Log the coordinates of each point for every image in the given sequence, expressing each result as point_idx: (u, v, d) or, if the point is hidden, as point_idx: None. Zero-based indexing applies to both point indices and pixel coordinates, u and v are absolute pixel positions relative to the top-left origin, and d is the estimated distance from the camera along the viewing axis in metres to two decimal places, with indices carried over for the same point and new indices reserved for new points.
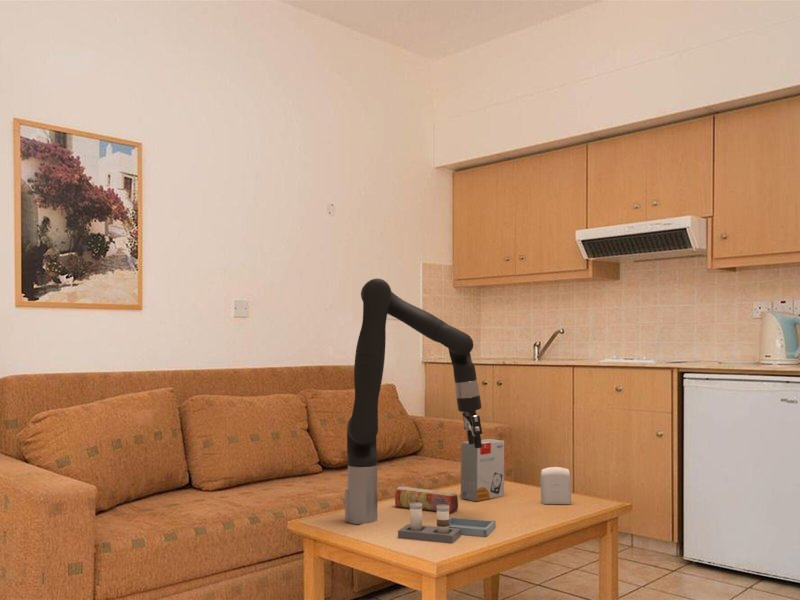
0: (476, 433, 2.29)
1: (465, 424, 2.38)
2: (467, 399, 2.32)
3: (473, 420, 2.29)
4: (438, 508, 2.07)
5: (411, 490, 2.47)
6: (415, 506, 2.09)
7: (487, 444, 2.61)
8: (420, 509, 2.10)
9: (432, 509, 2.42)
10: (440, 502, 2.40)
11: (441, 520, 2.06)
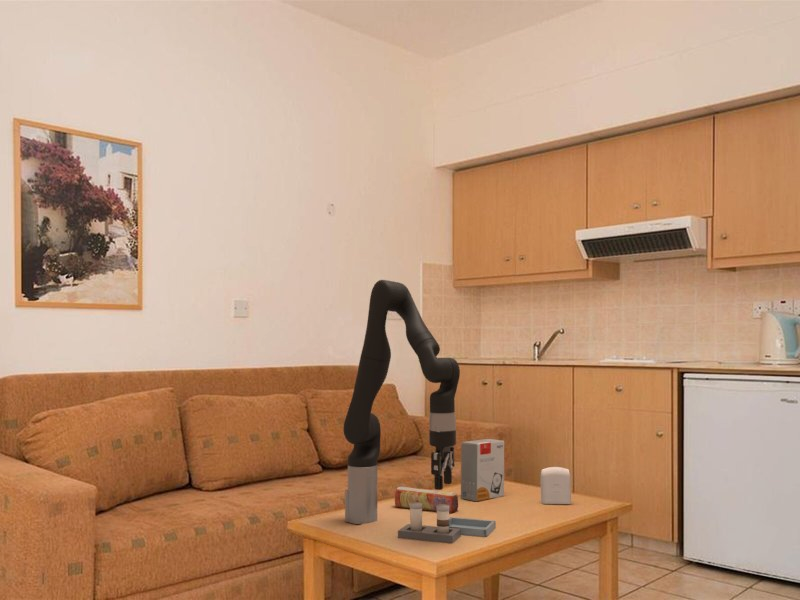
0: (433, 472, 2.02)
1: None
2: (434, 433, 2.06)
3: (432, 457, 2.03)
4: (438, 508, 2.07)
5: (411, 490, 2.47)
6: (415, 506, 2.09)
7: (487, 444, 2.61)
8: (420, 509, 2.10)
9: (432, 509, 2.42)
10: (441, 502, 2.41)
11: (441, 520, 2.06)
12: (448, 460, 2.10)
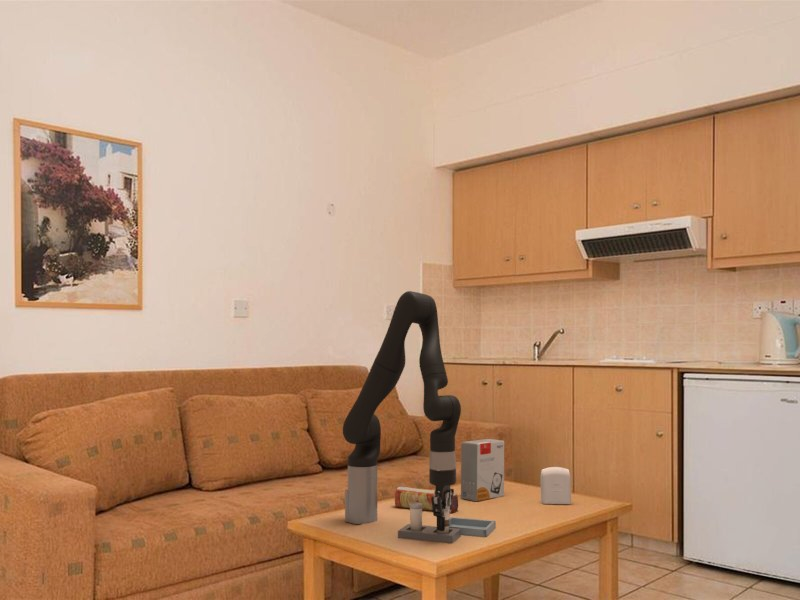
0: (435, 515, 2.04)
1: None
2: (434, 471, 2.06)
3: (432, 502, 2.03)
4: None
5: (411, 490, 2.47)
6: (415, 506, 2.09)
7: (487, 444, 2.61)
8: (420, 509, 2.10)
9: (432, 509, 2.42)
10: None
11: None
12: (448, 498, 2.09)
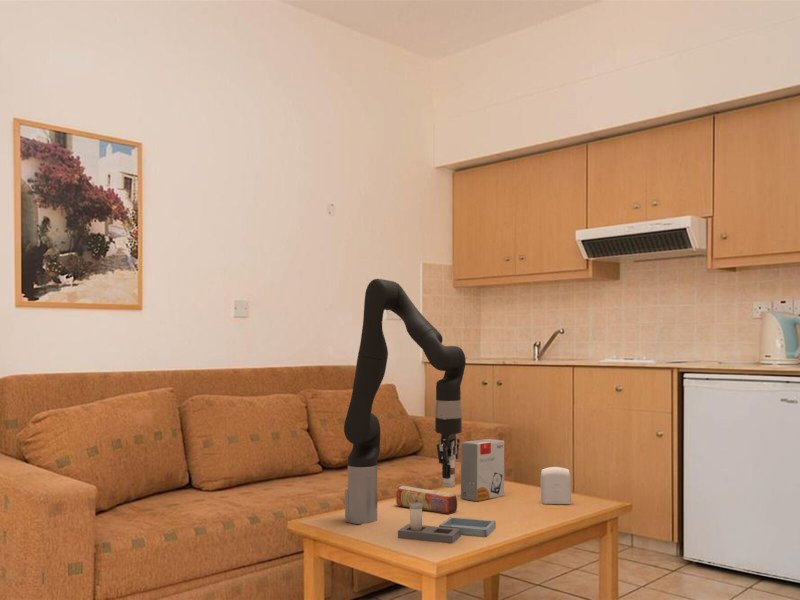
0: (441, 462, 2.07)
1: None
2: (440, 420, 2.08)
3: (438, 449, 2.05)
4: None
5: (411, 490, 2.47)
6: (415, 506, 2.09)
7: (487, 444, 2.61)
8: (420, 509, 2.10)
9: (431, 509, 2.42)
10: (438, 502, 2.40)
11: None
12: None
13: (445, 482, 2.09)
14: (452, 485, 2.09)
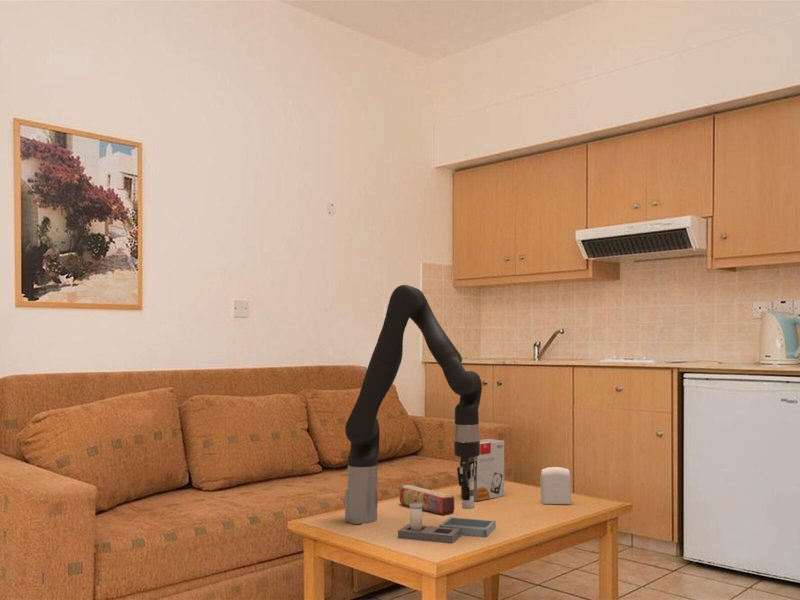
0: (461, 485, 2.13)
1: None
2: (460, 443, 2.15)
3: (458, 472, 2.12)
4: None
5: (413, 489, 2.49)
6: (415, 506, 2.09)
7: (487, 444, 2.61)
8: (420, 509, 2.10)
9: (428, 509, 2.42)
10: (434, 503, 2.39)
11: None
12: None
13: (465, 504, 2.15)
14: (471, 506, 2.15)
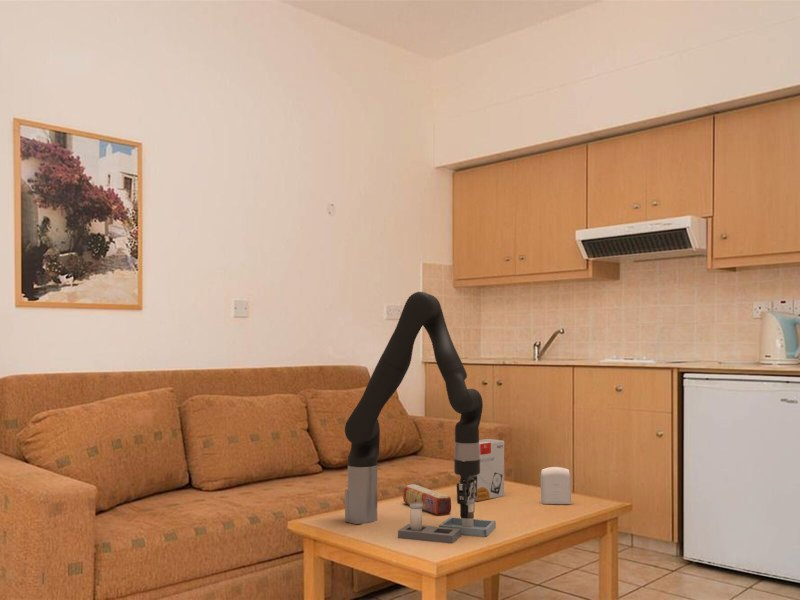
0: (459, 502, 2.11)
1: None
2: (460, 462, 2.15)
3: (457, 488, 2.11)
4: None
5: (414, 488, 2.49)
6: (415, 506, 2.09)
7: (487, 444, 2.61)
8: (420, 509, 2.10)
9: (426, 509, 2.42)
10: (430, 503, 2.39)
11: None
12: (472, 488, 2.18)
13: (464, 526, 2.15)
14: None
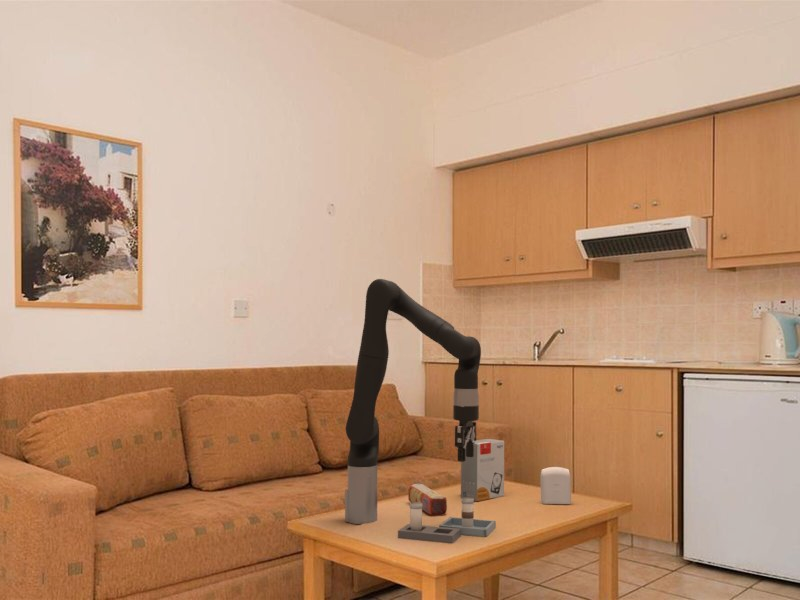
0: (456, 445, 2.12)
1: None
2: (458, 407, 2.16)
3: (456, 430, 2.13)
4: (463, 501, 2.16)
5: (417, 488, 2.50)
6: (415, 506, 2.09)
7: (487, 444, 2.61)
8: (420, 509, 2.10)
9: (423, 509, 2.42)
10: (425, 503, 2.39)
11: (466, 512, 2.15)
12: None
13: (464, 526, 2.15)
14: None
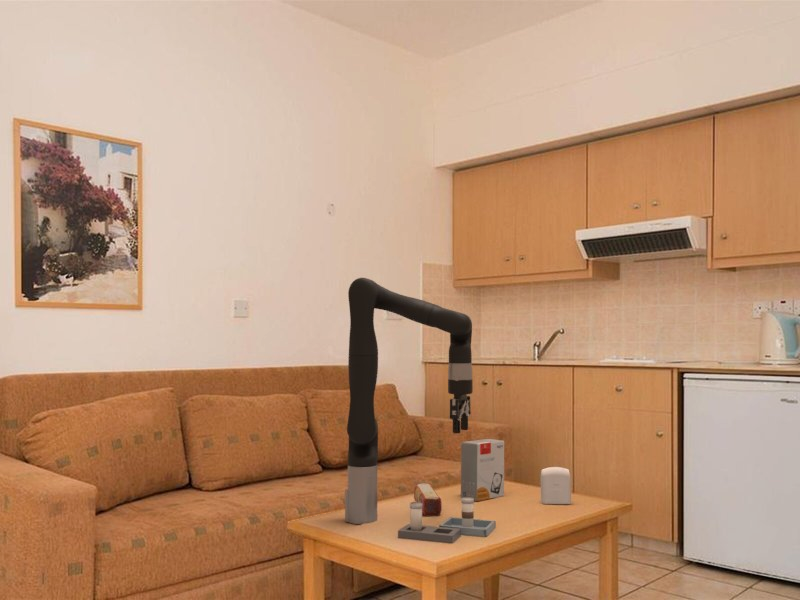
0: (451, 417, 2.20)
1: None
2: (453, 381, 2.24)
3: (451, 403, 2.20)
4: (463, 501, 2.16)
5: (420, 488, 2.51)
6: (415, 506, 2.09)
7: (487, 444, 2.61)
8: (420, 509, 2.10)
9: None
10: None
11: (466, 512, 2.15)
12: (465, 407, 2.27)
13: (464, 526, 2.15)
14: None
